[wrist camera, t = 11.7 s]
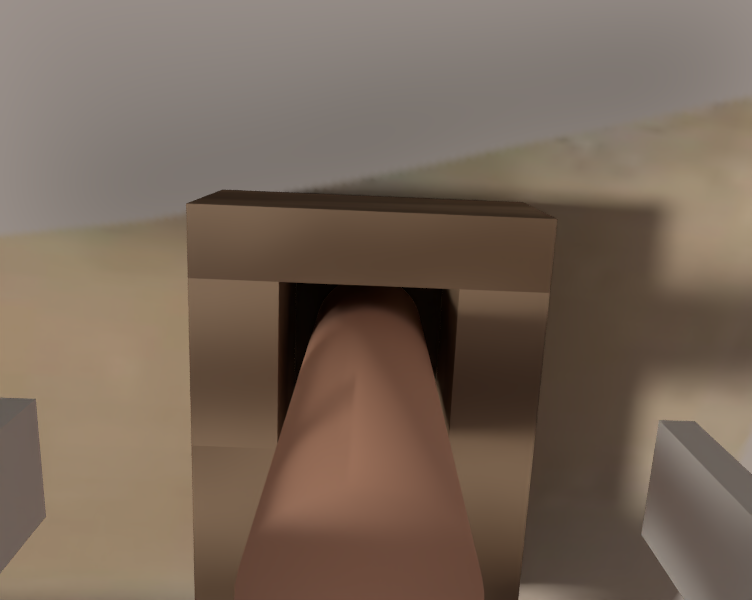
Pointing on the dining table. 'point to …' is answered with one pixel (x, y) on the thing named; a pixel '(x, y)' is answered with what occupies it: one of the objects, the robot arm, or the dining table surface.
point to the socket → (372, 268)
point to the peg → (362, 469)
